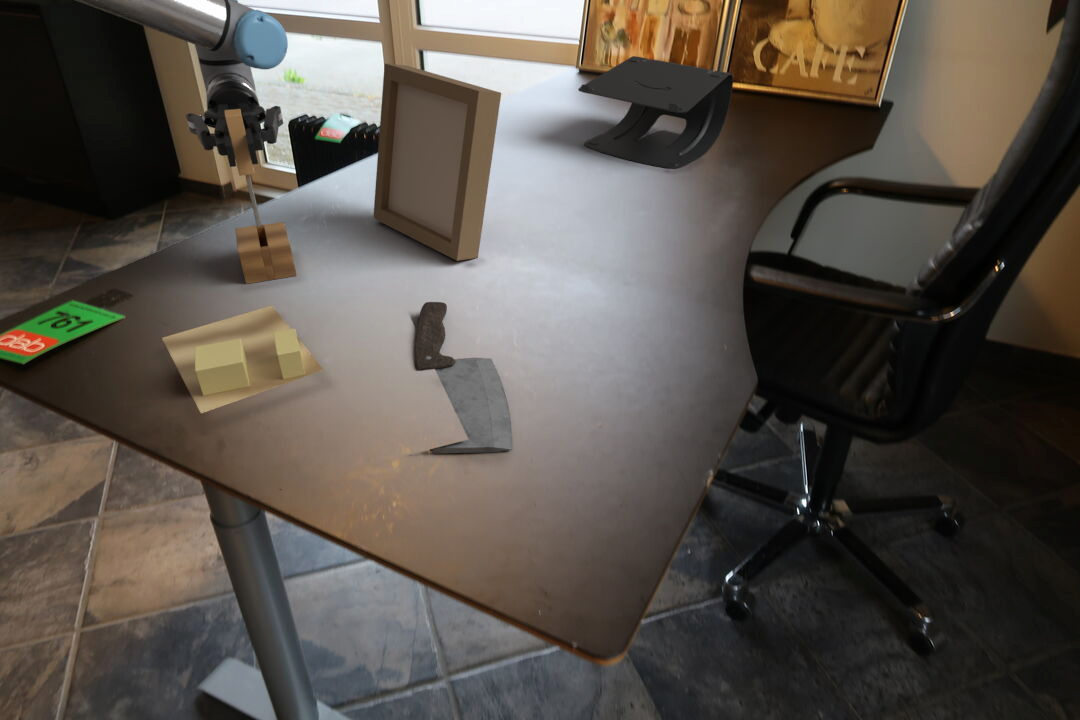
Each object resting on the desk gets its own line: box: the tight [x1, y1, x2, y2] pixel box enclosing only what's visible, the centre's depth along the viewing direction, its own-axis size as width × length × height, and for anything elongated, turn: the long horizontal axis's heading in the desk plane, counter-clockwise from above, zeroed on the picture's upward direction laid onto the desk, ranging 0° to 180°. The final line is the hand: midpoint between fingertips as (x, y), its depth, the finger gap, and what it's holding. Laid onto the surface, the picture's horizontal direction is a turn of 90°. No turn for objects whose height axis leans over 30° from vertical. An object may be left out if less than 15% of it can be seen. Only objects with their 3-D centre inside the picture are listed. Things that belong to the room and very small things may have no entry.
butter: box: [195, 339, 250, 396], centre depth 80 cm, size 5×5×4 cm
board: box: [161, 305, 324, 414], centre depth 86 cm, size 18×14×2 cm
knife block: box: [234, 221, 297, 285], centre depth 105 cm, size 9×7×5 cm
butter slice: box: [273, 328, 305, 379], centre depth 83 cm, size 5×2×4 cm, turn 22°
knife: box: [224, 109, 262, 227], centre depth 97 cm, size 6×2×15 cm, turn 22°
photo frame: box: [372, 62, 502, 262], centre depth 111 cm, size 15×22×25 cm
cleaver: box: [414, 301, 513, 454], centre depth 84 cm, size 29×10×2 cm, turn 13°
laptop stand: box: [578, 55, 734, 169], centre depth 151 cm, size 26×24×16 cm
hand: (241, 155), depth 91 cm, fingers closed on knife, 2 cm apart
